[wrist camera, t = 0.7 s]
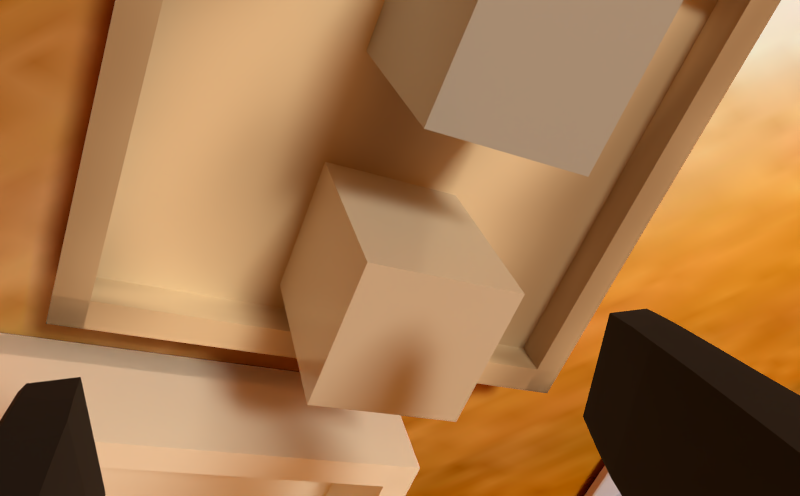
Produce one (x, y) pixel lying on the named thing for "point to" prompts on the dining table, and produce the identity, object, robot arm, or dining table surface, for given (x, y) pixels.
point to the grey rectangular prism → (521, 69)
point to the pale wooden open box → (213, 425)
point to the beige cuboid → (393, 297)
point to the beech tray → (354, 148)
